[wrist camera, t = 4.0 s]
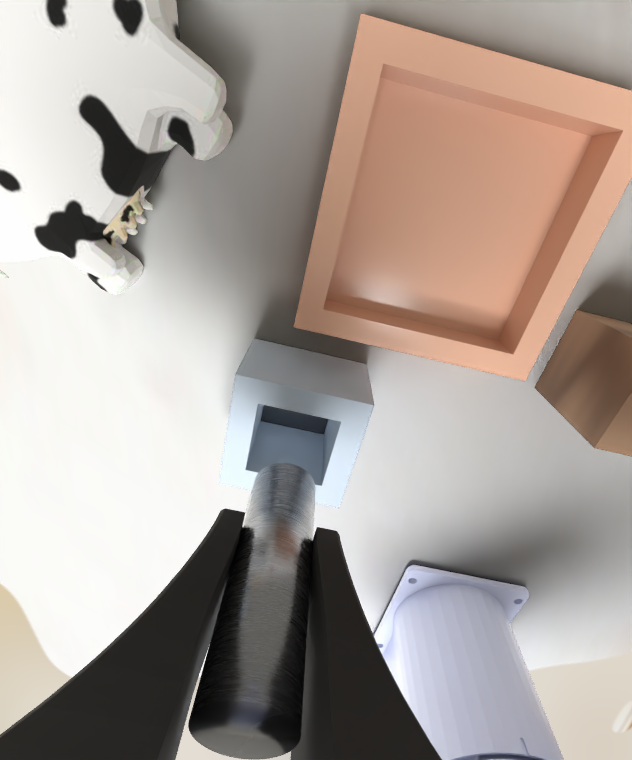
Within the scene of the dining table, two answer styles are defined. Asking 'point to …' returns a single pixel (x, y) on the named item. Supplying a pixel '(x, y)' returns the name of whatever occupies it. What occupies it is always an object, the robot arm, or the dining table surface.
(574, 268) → the tray
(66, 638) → the dining table surface
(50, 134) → the toy
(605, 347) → the walnut block
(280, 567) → the pin
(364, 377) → the slate block
